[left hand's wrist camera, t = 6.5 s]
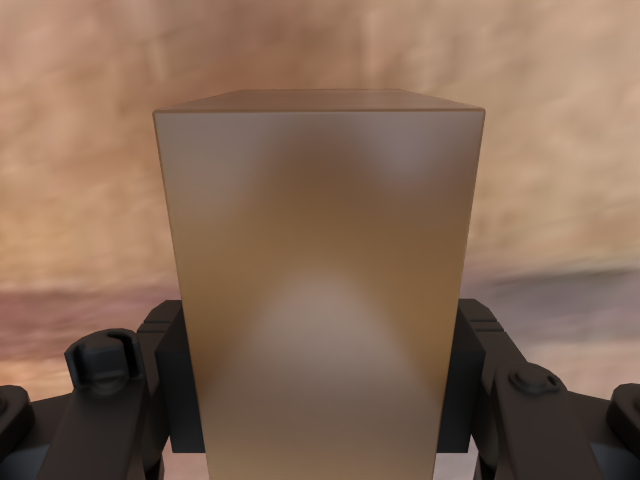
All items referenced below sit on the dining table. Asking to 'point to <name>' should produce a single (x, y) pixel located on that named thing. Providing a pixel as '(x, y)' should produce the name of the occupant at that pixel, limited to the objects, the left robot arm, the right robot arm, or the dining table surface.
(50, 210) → the dining table surface
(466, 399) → the left robot arm
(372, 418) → the bar
